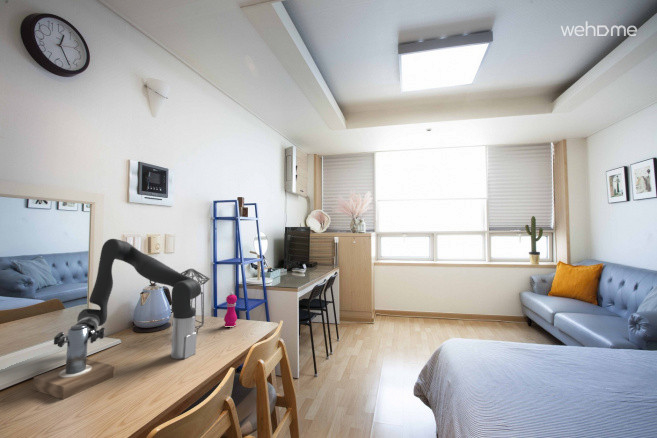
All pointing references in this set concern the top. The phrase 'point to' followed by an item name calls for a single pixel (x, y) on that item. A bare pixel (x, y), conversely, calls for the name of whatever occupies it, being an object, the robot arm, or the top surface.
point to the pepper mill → (230, 310)
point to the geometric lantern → (196, 273)
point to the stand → (72, 379)
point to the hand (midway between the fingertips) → (76, 342)
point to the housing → (77, 349)
